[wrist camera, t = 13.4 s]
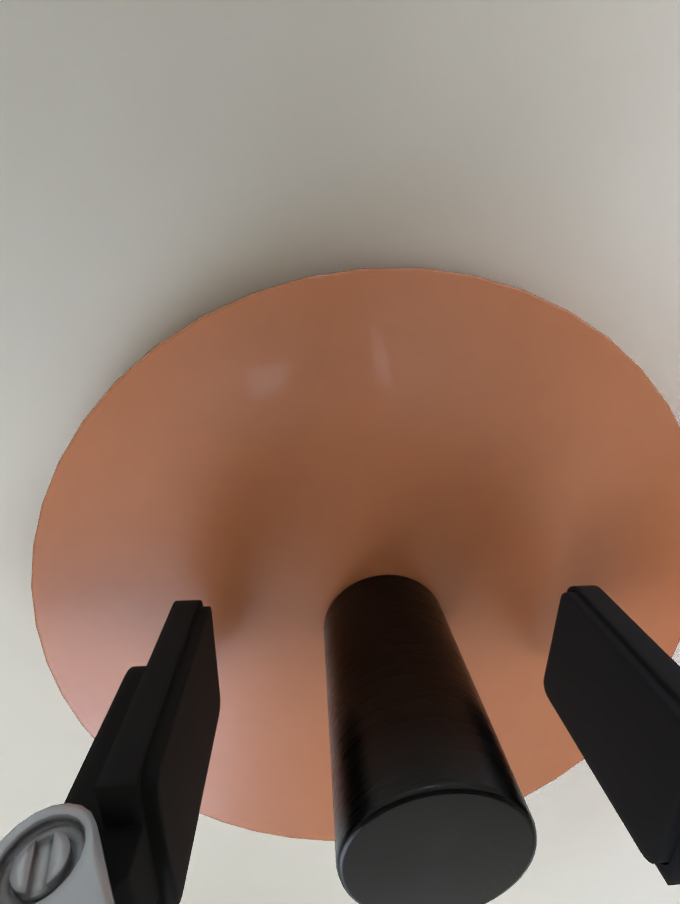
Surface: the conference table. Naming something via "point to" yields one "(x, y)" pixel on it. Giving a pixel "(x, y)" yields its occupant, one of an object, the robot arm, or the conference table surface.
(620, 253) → the conference table surface
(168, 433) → the bucket lid
